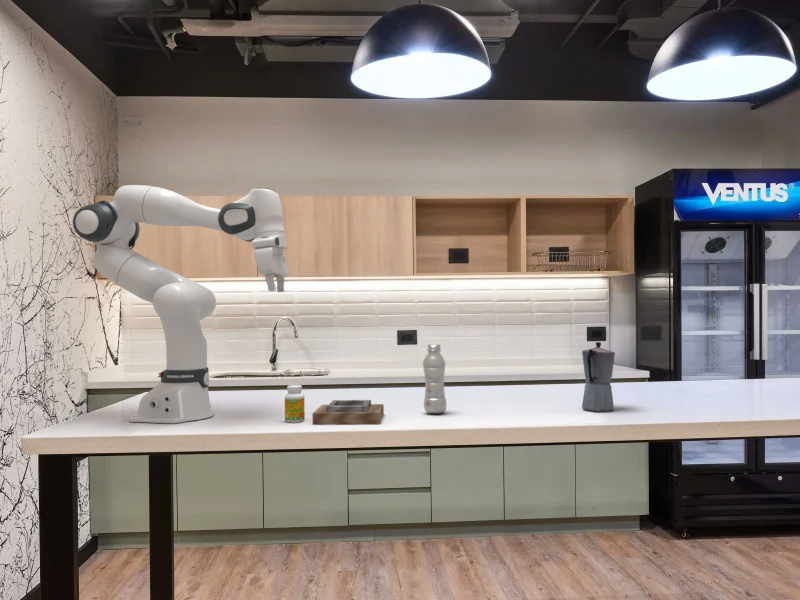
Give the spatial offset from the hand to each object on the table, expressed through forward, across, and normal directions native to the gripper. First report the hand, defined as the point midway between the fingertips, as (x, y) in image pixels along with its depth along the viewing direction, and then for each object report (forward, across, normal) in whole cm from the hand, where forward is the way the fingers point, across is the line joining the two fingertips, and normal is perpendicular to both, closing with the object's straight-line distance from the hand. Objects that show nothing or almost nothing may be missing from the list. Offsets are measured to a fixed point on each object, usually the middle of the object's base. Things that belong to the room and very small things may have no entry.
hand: (276, 291), depth 163 cm
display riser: (+38, +3, +17) cm, 42 cm away
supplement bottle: (+37, +5, +2) cm, 37 cm away
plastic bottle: (+41, -5, +41) cm, 58 cm away
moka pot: (+46, -9, +88) cm, 100 cm away
